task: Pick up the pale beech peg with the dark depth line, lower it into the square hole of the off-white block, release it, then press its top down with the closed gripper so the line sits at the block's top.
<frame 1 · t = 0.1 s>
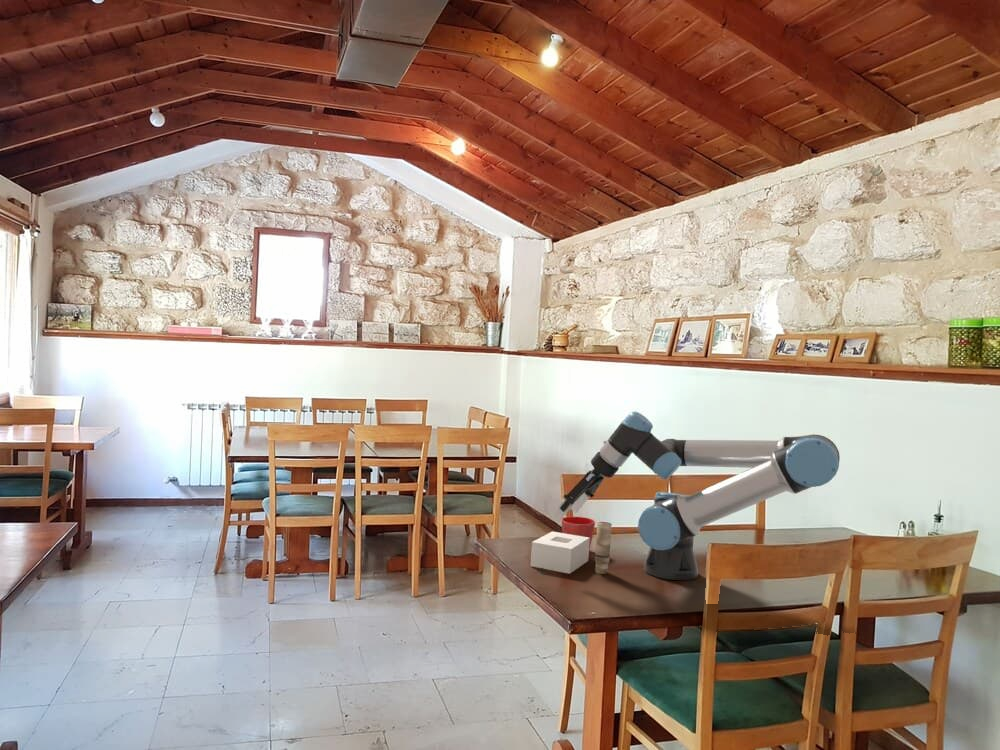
hand: (564, 514, 216), 15 cm above the table, tool tilted 35°, fingers open, 13 cm apart
beech peg: (601, 572, 213), on the table
flower pot: (576, 551, 235), on the table
socket block: (559, 563, 219), on the table
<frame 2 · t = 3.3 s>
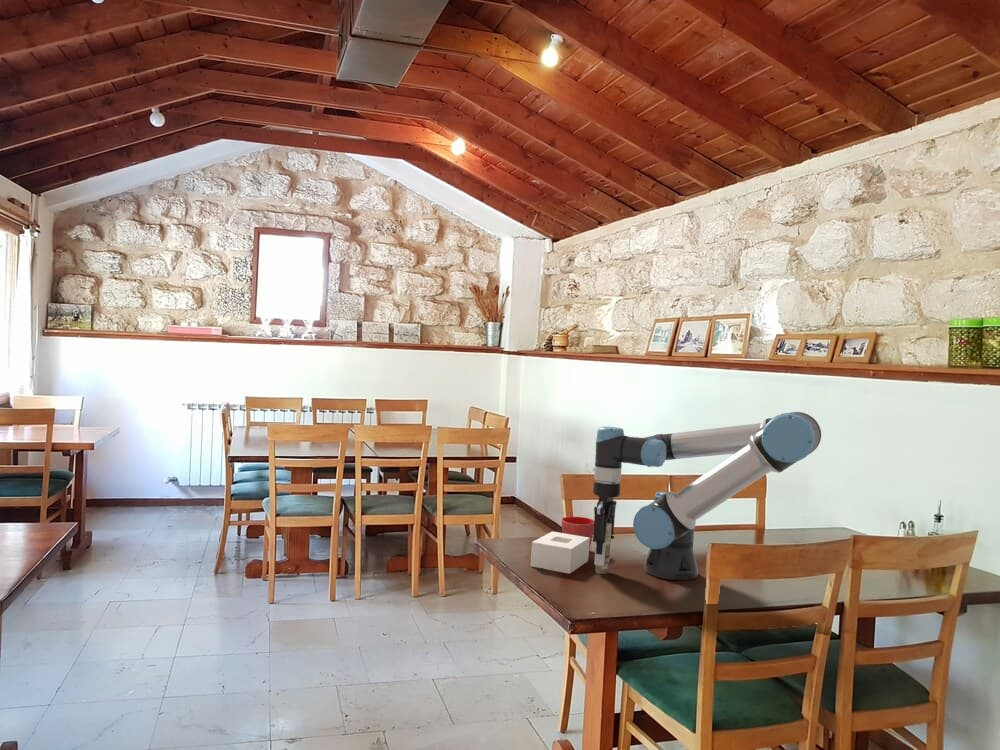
hand: (601, 562, 213), 3 cm above the table, tool pointing down, fingers closed on beech peg, 4 cm apart
beech peg: (601, 572, 213), on the table, touching gripper
everything else where it was.
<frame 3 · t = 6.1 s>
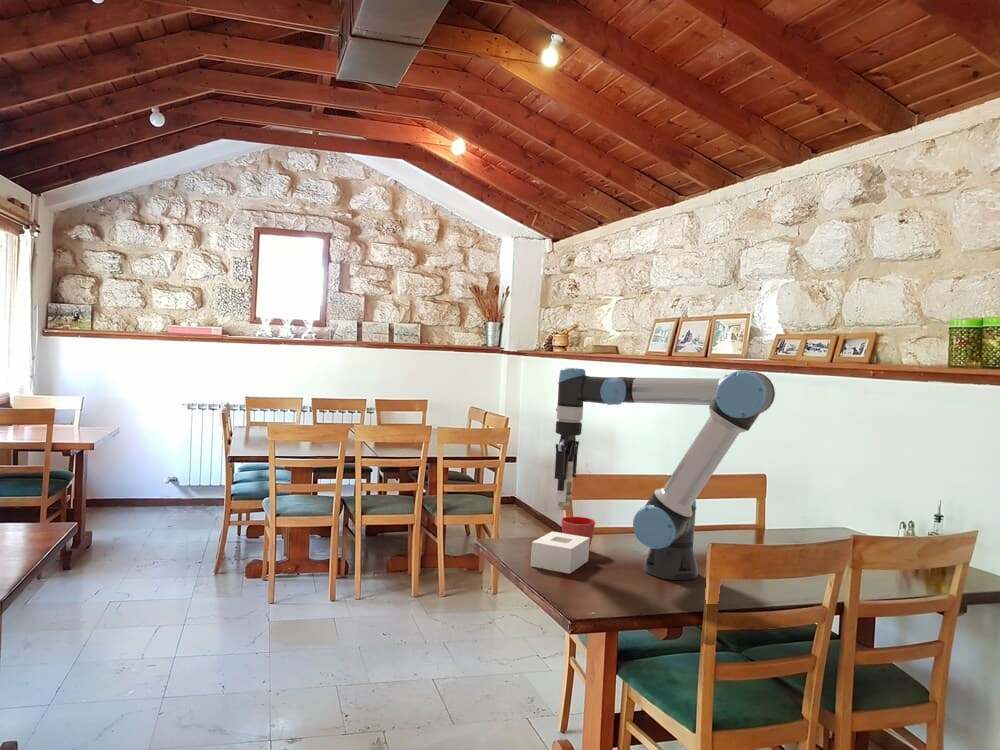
hand: (563, 500, 219), 19 cm above the table, tool pointing down, fingers closed on beech peg, 4 cm apart
beech peg: (563, 509, 219), point 16 cm above the table, touching gripper
everything else where it was.
when the fingers open (8 cm above the table, at t = 8.7 s): beech peg drops 3 cm, resting on socket block.
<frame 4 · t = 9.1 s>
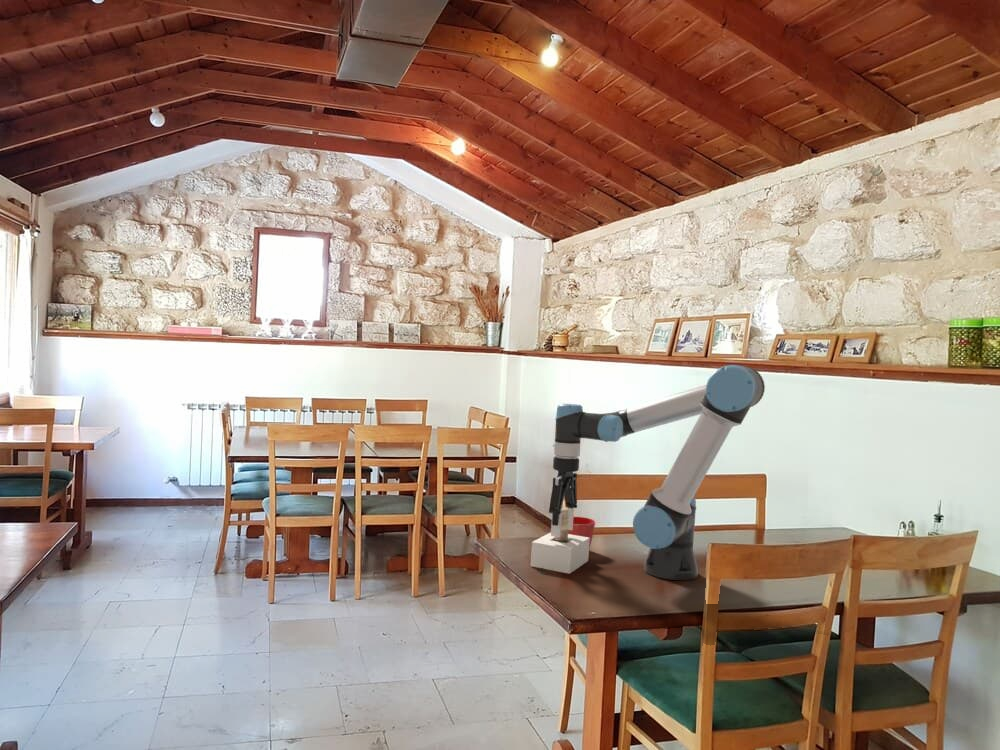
hand: (561, 532, 219), 9 cm above the table, tool pointing down, fingers open, 9 cm apart
beech peg: (560, 556, 219), point 2 cm above the table, touching socket block
everything else where it was.
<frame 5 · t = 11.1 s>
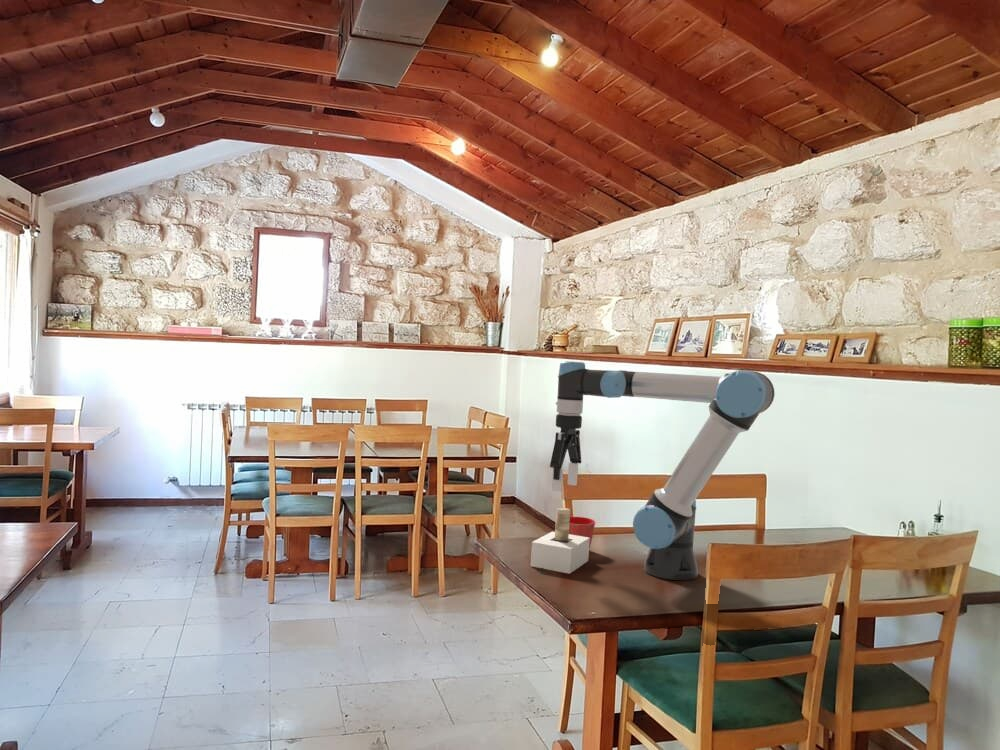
hand: (564, 487, 219), 22 cm above the table, tool pointing down, fingers open, 12 cm apart
nothing on the table moved.
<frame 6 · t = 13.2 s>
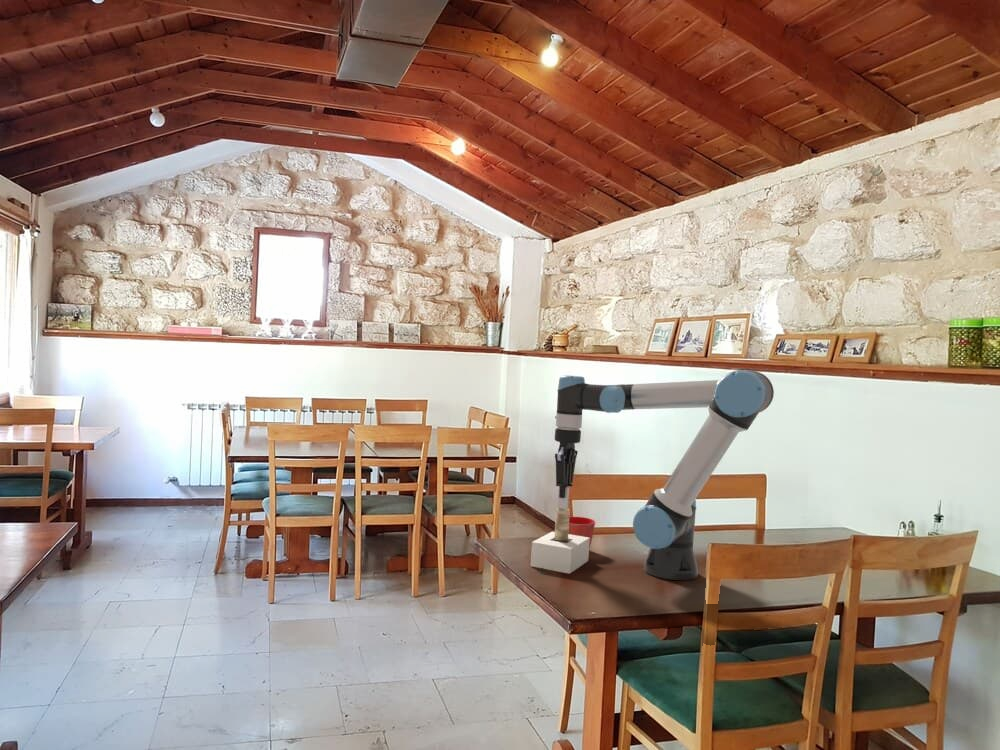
hand: (562, 508, 219), 16 cm above the table, tool pointing down, fingers closed
beech peg: (560, 556, 219), point 2 cm above the table, touching gripper, socket block
everything else where it was.
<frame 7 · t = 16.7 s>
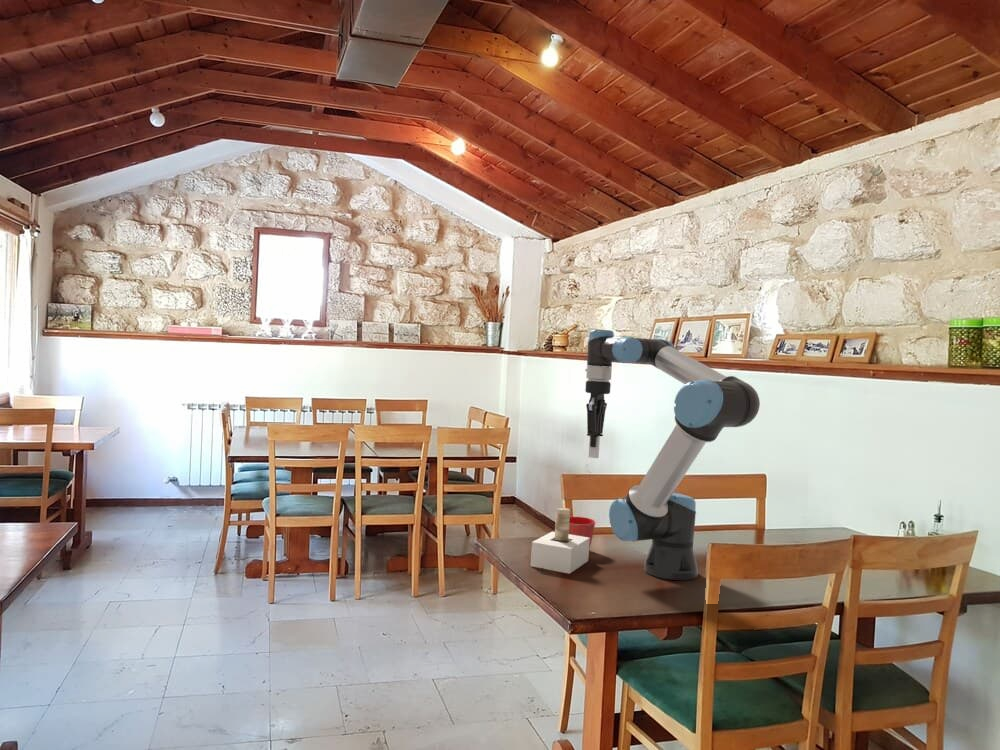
hand: (593, 457, 228), 30 cm above the table, tool pointing down, fingers closed
beech peg: (560, 556, 219), point 2 cm above the table, touching socket block
everything else where it was.
at the end: beech peg 0.0 cm off-centre on the socket block, point 2.0 cm above the socket block's base; beech peg tilted 0°; the gripper is holding nothing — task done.
